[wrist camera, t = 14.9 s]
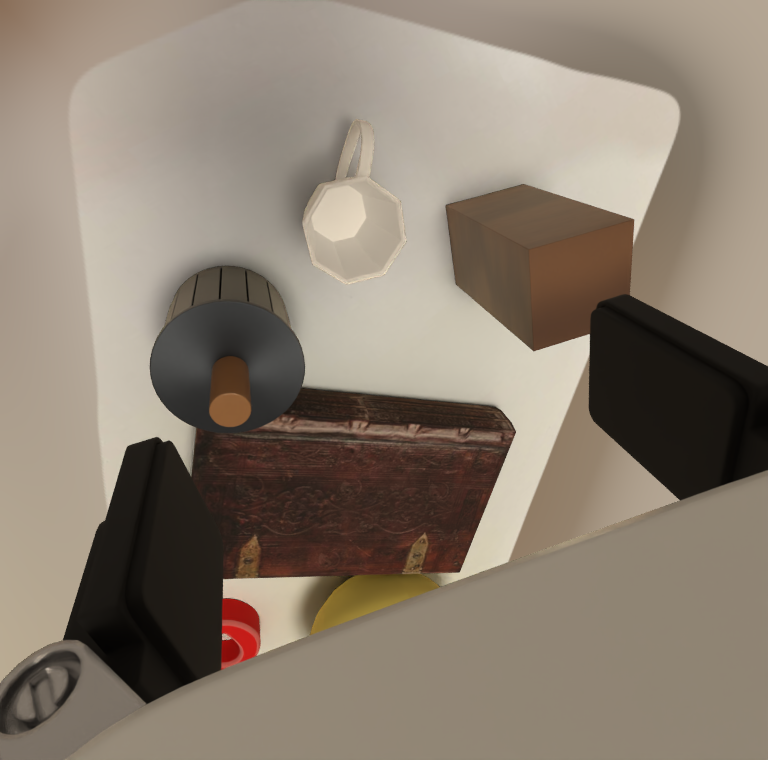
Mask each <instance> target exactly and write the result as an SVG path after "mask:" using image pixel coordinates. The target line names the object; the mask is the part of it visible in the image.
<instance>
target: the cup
mask: <svg viewBox="0 0 768 760" xmlns="http://www.w3.org/2000/svg"><path fill="white" fill-rule="evenodd" d="M360 134H361V152H360V157H359V162H358V166H357V171H356V175H355V177H348V178H346V177H347V172H348V169H349V165H350V162H351V159H352V156H353V153H354V150H355V147H356V144H357V141H358V139H359V136H360ZM373 152H374V131H373V129H372V126H371V124H370V123H368V122H367V121H363V120H359V119H355V120H354V122H353V123H352V124H351V127H350V129H349V132H348V134H347V137H346V140H345V143H344V147H343V150H342V153H341V156H340V160H339V164H338V168H337V172H336V178H335V180H334V181H330V182H325V183H321V184H318V186H317V188H316V190H315V191H314V193H313V195H312V196H311V198H310V200H309V201H308V203H307V207H306V208H305V210H304V217H303V221H302V225H303V229H304V233H305V237H306V241H307V245H308V249H309V253H310V257H311V261H312V265H314V266H316V267H317V268H319V269H321V270H322V271H324V272H326V273H327V274H329V275H331V276H332V277H334V278H336V279H337V280H339V281H341V282H342V283H344V284H346V285H347V284H351V283H355V282H359V281H363V280H367V279H371V278H375V277H379V276H383V275H385V273H386V272H387V270H388V269H389V267H390V266H391V264H392V263H393V261H394V260H395V258H396V257H397V255H398V254H399V252H400V251H401V249H402V248H403V246H404V245H405V243H406V242H407V241H406V234H405V227H404V220H403V213H402V206H401V201H400V200H399V199H398V198H396V197H395V196H394V195H392V194H391V193H390V192H388V191H387V190H385V189H384V188H383V187H381V186H380V185H379V184H377V183H376V182H374V181H373V180H372V179H370V178H369V175H370V171H371V165H372V159H373Z"/></svg>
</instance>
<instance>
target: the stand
mask: <svg viewBox="0 0 768 760" xmlns="http://www.w3.org/2000/svg"><path fill="white" fill-rule="evenodd" d="M446 211H447V219H448V226H449V234H450V242H451V250H452V257H453V265H454V273H455V281H456V285H457V286H459V287H460V288H461V289H462V290H463V291H464V292H466V293H467V294H468V295H469V296H470V297H471V298H472V299H474V300H475V301H476V302H477V303H478V304H479V305H481V306H482V307H483V308H484V309H485V310H486V311H488V312H489V313H490V314H491V315H492V316H493V317H495V318H496V319H497V320H498V321H499V322H500V323H501V324H503V325H504V326H505V327H506V328H507V329H508V330H510V331H511V332H512V333H513V334H514V335H515V336H517V337H518V338H519V339H520V340H521V341H522V342H524V343H525V344H526V345H527V346H528V347H529V348H531V349H532V350H533V351H536V350H539V349H543V348H546V347H549V346H552V345H555V344H559V343H562V342H565V341H568V340H571V339H575V338H578V337H581V336H584V335H587V334H590V317H591V313H592V311H593V310H595V309H596V306H597V304H598V303H599V302H600V301H603V300H606V299H609V298H613V297H616V296H619V295H623V294H627V295H630V282H631V281H630V280H631V265H632V249H633V232H634V219H631V218H628V217H625V216H622V215H619V214H616V213H613V212H609V211H606V210H603V209H600V208H597V207H594V206H591V205H588V204H584V203H581V202H578V201H575V200H572V199H569V198H566V197H563V196H559V195H556V194H553V193H550V192H547V191H544V190H541V189H538V188H534V187H531V186H528V185H525V184H522V185H519V186H515V187H511V188H508V189H504V190H500V191H497V192H493V193H489V194H486V195H482V196H478V197H474V198H471V199H467V200H463V201H460V202H456V203H452V204H449V205H446Z"/></svg>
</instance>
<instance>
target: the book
mask: <svg viewBox="0 0 768 760" xmlns="http://www.w3.org/2000/svg"><path fill="white" fill-rule="evenodd" d="M515 433H516V431H515V429H514V427H513V425H512V423H511V421H510V420H509V419H508V418H507V417H506V415H505V414H504V413H503V412H502V411H501V410H500V409H498V408H496V407H491V406H480V405H469V404H459V403H448V402H438V401H427V400H417V399H406V398H395V397H385V396H374V395H364V394H353V393H343V392H332V391H321V390H311V389H300V392H299V394H298V396H297V397H296V399H295V400H294V402H293V403H292V405H291V406H290V407H289V408H288V409H287V410H286V411H285V412H284V413H283V414H282V415H281V416H279V417H278V418H277V419H275V420H274V421H272V422H270V423H268V424H266V425H264V426H262V427H259V428H257V429H254V430H250V431H246V432H239V433H216V432H210V431H206V430H202V429H199V428H197V429H196V438H195V448H194V457H193V466H192V476H191V478H192V480H193V482H194V484H195V485H196V487H197V489H198V491H199V493H200V495H201V497H202V499H203V501H204V502H205V504H206V506H207V508H208V510H209V512H210V514H211V516H212V518H213V519H214V521H215V523H216V525H217V527H218V529H219V531H220V534H221V537H222V541H223V579H238V578H275V577H311V576H347V575H383V574H419V573H456V572H460V570H461V568H462V565H463V563H464V560H465V558H466V555H467V553H468V550H469V548H470V545H471V543H472V540H473V538H474V535H475V533H476V530H477V528H478V525H479V523H480V520H481V518H482V515H483V513H484V510H485V508H486V505H487V503H488V500H489V498H490V495H491V493H492V491H493V488H494V486H495V483H496V481H497V478H498V476H499V473H500V471H501V468H502V466H503V463H504V461H505V458H506V456H507V453H508V451H509V448H510V446H511V443H512V441H513V438H514V436H515Z"/></svg>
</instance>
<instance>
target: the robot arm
mask: <svg viewBox="0 0 768 760" xmlns="http://www.w3.org/2000/svg"><path fill="white" fill-rule="evenodd" d="M589 411H590V415H591V417H592V419H593V421H594V422H595V423H596V424H597V425H598V426H599V427H600V428H602V429H603V430H604V431H605V432H606V433H607V434H608V435H609V436H610V437H611V438H613V439H614V440H615V441H616V442H617V443H618V444H619V445H620V446H621V447H622V448H623V449H624V450H626V451H627V452H628V453H629V454H630V455H631V456H632V457H633V458H634V459H636V460H637V461H638V462H639V463H640V464H641V465H642V466H643V467H644V468H645V469H647V471H649V472H650V473H651V474H652V475H653V476H654V477H655V478H656V479H657V480H658V481H660V482H661V483H662V484H663V485H664V486H665V487H666V488H667V489H668V490H669V491H670V492H672V493H673V494H674V495H675V496H676V497H677V498H678V499H679V500H680V501H677V502H675V503H672V504H669V505H666V506H664V507H661V508H658V509H655V510H652V511H650V512H647V513H644V514H641V515H638V516H635V517H633V518H630V519H627V520H624V521H621V522H619V523H616V524H613V525H610V526H607V527H605V528H602V529H599V530H596V531H593V532H591V533H588V534H585V535H582V536H580V537H577V538H574V539H571V540H569V541H566V542H563V543H560V544H557V545H555V546H552V547H549V548H546V549H544V550H541V551H538V552H535V553H533V554H530V555H527V556H524V557H522V558H519V559H516V560H513V561H511V562H508V563H505V564H502V565H500V566H497V567H494V568H491V569H489V570H486V571H483V572H480V573H478V574H475V575H472V576H469V577H467V578H464V579H461V580H458V581H456V582H453V583H450V584H447V585H445V586H442V587H439V588H437V589H434V590H431V591H428V592H426V593H423V594H420V595H418V596H415V597H412V598H410V599H407V600H404V601H401V602H399V603H396V604H393V605H391V606H388V607H385V608H382V609H380V610H377V611H374V612H372V613H369V614H366V615H363V616H361V617H358V618H355V619H353V620H350V621H347V622H345V623H342V624H339V625H336V626H334V627H331V628H328V629H326V630H323V631H320V632H317V633H315V634H312V635H310V636H307V637H305V638H302V639H299V640H297V641H294V642H292V643H289V644H286V645H284V646H281V647H279V648H276V649H273V650H271V651H268V652H266V653H263V654H261V655H258V656H255V657H253V658H250V659H248V660H245V661H242V662H240V663H237V664H235V665H232V666H230V667H227V668H225V669H222V670H221V663H222V604H223V541H222V537H221V534H220V531H219V529H218V527H217V525H216V523H215V521H214V519H213V518H212V516H211V514H210V512H209V510H208V508H207V506H206V504H205V502H204V501H203V499H202V497H201V495H200V493H199V491H198V489H197V487H196V485H195V484H194V482H193V480H192V478H191V476H190V474H189V472H188V470H187V468H186V467H185V465H184V463H183V461H182V459H181V457H180V455H179V453H178V451H177V450H176V448H175V446H174V444H173V443H172V442H171V441H166V442H163V441H162V440H161V439H160V438H158V437H155V438H152V439H148V440H145V441H142V442H139V443H135V444H132V445H129V446H128V447H127V449H126V451H125V455H124V458H123V461H122V465H121V468H120V472H119V475H118V479H117V482H116V485H115V489H114V492H113V496H112V499H111V502H110V506H109V509H108V513H107V516H106V520H105V521H103V522H102V523H101V524H100V525H99V527H98V529H97V531H96V534H95V537H94V540H93V544H92V547H91V550H90V553H89V556H88V560H87V563H86V566H85V570H84V573H83V576H82V579H81V583H80V586H79V589H78V593H77V596H76V599H75V603H74V606H73V609H72V612H71V615H70V619H69V622H68V625H67V628H66V632H65V635H64V638H63V641H59V642H56V643H52V644H49V645H47V646H45V647H43V648H41V649H40V650H38V651H36V652H34V653H32V654H31V655H30V656H28V657H27V658H26V659H24V660H23V661H22V662H21V663H19V664H18V665H17V666H16V667H15V668H14V669H13V670H12V671H11V672H10V673H9V674H8V675H7V676H6V677H5V678H4V679H3V680H2V681H1V683H0V760H768V366H766V365H764V364H762V363H760V362H758V361H756V360H754V359H752V358H750V357H749V356H746V355H745V354H743V353H741V352H739V351H737V350H735V349H733V348H731V347H729V346H727V345H725V344H723V343H721V342H719V341H717V340H715V339H713V338H712V337H710V336H708V335H706V334H704V333H702V332H700V331H698V330H696V329H694V328H692V327H690V326H688V325H686V324H684V323H682V322H680V321H678V320H676V319H674V318H673V317H671V316H669V315H667V314H665V313H663V312H661V311H659V310H657V309H655V308H653V307H651V306H649V305H647V304H645V303H643V302H641V301H639V300H638V299H636V298H634V297H632V296H630V295H627V294H623V295H619V296H616V297H613V298H609V299H606V300H603V301H600V302H599V303H598V304H597V306H596V309H595V310H593V311H592V313H591V317H590V366H589Z"/></svg>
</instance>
